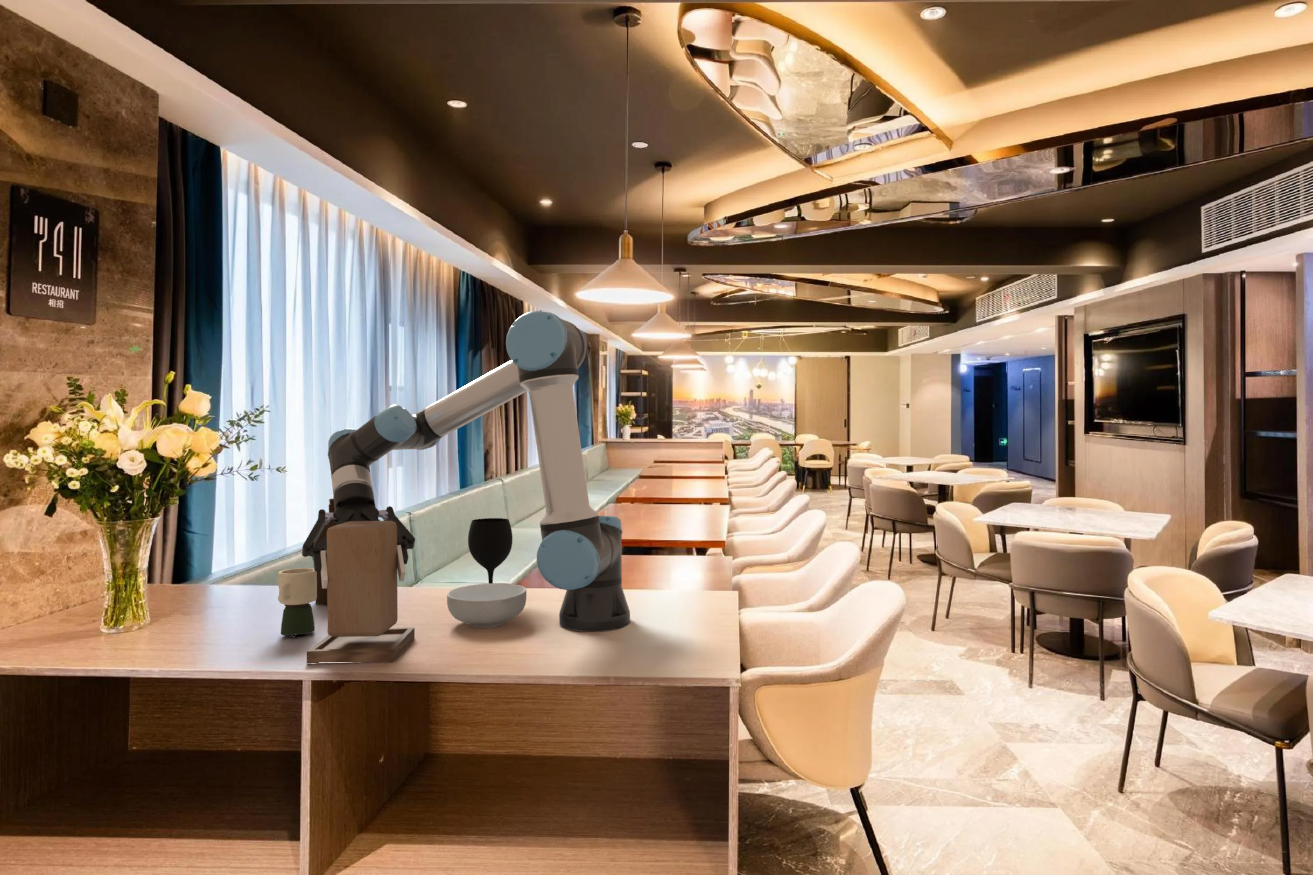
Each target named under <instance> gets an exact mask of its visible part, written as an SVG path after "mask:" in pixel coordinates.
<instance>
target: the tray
mask: <svg viewBox="0 0 1313 875" xmlns="http://www.w3.org/2000/svg"><path fill="white" fill-rule="evenodd" d="M415 634H416V633H415V627H391V628H389V629H388V630H387V631H386V632H384V633H383V634H382V635H380V636H358V637H332V636H329V635H326V636H325V637H324V638H323V639H321V640H320V641H319V642H317V643H316V644H315V645H313V646H312V647H311V648H309V649H308V650H306V664H307V663H319V662H356V663H355V664H358V663H357V662H378V663H395V661H397V659H399V657H400V656H401V654H402V653H403V652H404V651H405V650H406V649H407V648H408V647H409V646H410V645H411V644H412V642H414V641H415Z"/></svg>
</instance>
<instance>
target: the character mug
mask: <svg viewBox="0 0 1313 875" xmlns="http://www.w3.org/2000/svg"><path fill="white" fill-rule="evenodd" d="M277 576H278V577H277V586H278V597H277V600H278V602H279V603H280V604H282V605H284V609H283V611H282V612H283V613H282V617H281V618H282V619H281V627H280V635H281V636H287V635H290V636H292V637H293V636H295V637H296V636H297V635H307V634H312V633H314V632H315V631H316V627H315V626H316V625H315V619H314V618H315V617H314V612H313V607H312V605H311V603H313V602H316V599H317V572H315V570H314V567H299V568H287V569H283V570H280V571H278V573H277Z"/></svg>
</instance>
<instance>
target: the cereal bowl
mask: <svg viewBox="0 0 1313 875" xmlns="http://www.w3.org/2000/svg"><path fill="white" fill-rule="evenodd" d="M526 603H527V588H526V587H525V586H523V585H521V584H515V583H503V582H502V583H500V582H498V583H496V582H493V583H490V584H489V583H478V584H470V585H465V586H460V587H457V588H456V587H455V588H454V589H451V590H449V591H448V592H447V595H446V604H447V608H448V612H449V613H450V615H451V616H452V617H453V618H454V619H455V620H457V621H458V622H461V623H465V624H468V626H470V627H472V628H478V629H479V628H480V629H481V628H482V629H484V628H485V629H487V628H488V629H489V628H497V627H501V626H503V625H505V624H507V623H508V621H510V620H512V619H514V618H516V617H518V615H520V614H521V613H522V612H523V610H524V609H525V606H526Z"/></svg>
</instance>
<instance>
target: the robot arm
mask: <svg viewBox="0 0 1313 875" xmlns="http://www.w3.org/2000/svg"><path fill="white" fill-rule="evenodd" d="M505 346H506V352H507V354H508V356H509V359H510V360H509V361H507V362H505V363H503V364H502V365H501V364H500V366H498V367H495V368H494V369H492V370H490V371H489V372H487V373H485V374H484V375H481V376H480V377H478V378H476V379H474V380H473V381H471V382H468V383H467V384H466V385H464V386H462V387H460V388H458V389H457V390H455V391H453V392H451V393H450V394H448V395H446V396H444V397H442V398H441V399H438V400H437V401H435V402H433V403H431V404H429V405H428V406H426V407H425V408H422V409H421V410H419V411H417V412H416V413H413V414H411V413H410V411H408V409H406V408H405V407H402V406H401V405H399V404H391V405H390V406H388V407H386V408H385V409H383V410H381V411H379V412H378V413H377V414H376V415H375V416H374V417H372V418H371V419H369V420H368V421H367V422H366V423H364V424H363V425H361V426H360V427H359V428H357V429H355V428H343V429H342V430H336V431H335V432H333V433H332V434H331V436H330V437H329V438H328V439H329V440H328V445H327V448H328V449H327V450H328V451H327V458H328V462H329V468H330V477H331V485H332V486H331V487H332V494H333V498H332V499H334V508H335V511H334V513H329V512H326V510H325V509H324V508H323V509H319V510H318V514H317V520H316V522H315V523H314V525H313V527H312V528H311V530H310V532H309V534H308V535H307V537H306V539H305V541H304V543H303V544H302V549H301V556H302V557H303V558H307V557H311V558H312V561H313V562H312V563H313V568H314V570H315V572H317V571H321V580H322V589H324V588H327V583H328V575H327V565H326V554H325V551H326V550H327V534H326V535H325V536H324V538H323V539H322V540H321V541H320V542H319V543H318V544H317V545H316V546H315V547H314V545H315V543H316V541H317V539H318V538H319V536H320V534H321V532H322V530H323V528H324V525H327V523H329V521H330V520H333V521H334V522H335V523H336V525H339V524H342V523H345V522H349V521H381V520H380V519H379V518H381V519H382V521H393V522H395V523H396V525H397V577H398V580H399V582H404V580H405V575H406V567H405V565H407V564H408V560H409V554H408V550H412V549H414V546H415V542H416V538H415V536H414V535H413V534H412V533H411V531H409V529H407V527H406V526H405V524H404V523H403V522H402V521H401V520H400V519H399V518H398V517H397V515H396V514H395V511H394V508H393V507H392V506H387V507H386V509H380V510H379V509H378V508H377V506H376V502H375V495H374V490H373V484H372V482H373V480H372V476H371V469H370V466H371V465H372V464H374V463H375V462H377V461H378V460H380V459H382V457H384V456H385V455H387V454H388V453H390V452H391V451H397V450H398V451H399V450H401V451H402V450H418V451H419V450H420V451H421V450H427V449H430V448H434V447H435V446H437V444H439V443H440V440H441V439H442V438H444V437H445V436H447V435H449V434H450V433H453V432H455V431H456V430H458V429H460V428H462V427H464V426H466V425H468V424H469V423H470V422H473V421H474V420H476V419H478V418H480V417H482V416H484V415H486V414H487V413H490V412H491V411H493V410H495V409H497V408H499V407H500V406H503V405H504V404H507V403H508V402H509V401H511V400H513V399H516V398H517V397H519V396H521V395H523V394H524V393H527V392H528V394H529V401H530V408H531V415H532V416H531V417H532V422H533V423H532V424H533V428H534V429H533V430H534V437H535V442H536V450H537V457H538V464H539V471H540V478H541V487H542V493H543V500H544V506H545V515H544V516H543V517H542V518H541V520H540V522H539V527H540V533H541V534H540V536H541V543H540V544H539V546H538V548H537V552H536V564H537V568H538V571H539V572H540V575H541V577H542V578H543V579H544V580H545V581H546V582H547V583H549V584H550V585H551V586H553V587H554V588H556V589H559V590H564V591H565V594H564V597H563V601H562V604H561V607H560V609H559V614H558V616H559V617H558V618H559V621H558V622H559V623H558V624H559V625H560V627H562V628H564V629H567V630H572V631H578V632H579V631H580V632H605V631H611V630H616V629H621V628H623V627H626V626H628V625H629V624H630V623H631V612H630V610H631V609H630V608H629V605H628V604H629V603H628V602H627V598H626V595H625V592H624V589H623V585H622V584H623V580H622V579H623V578H622V573H623V571H622V569H623V567H622V566H623V562H622V560H623V559H622V558H623V556H622V555H623V554H622V552H623V551H622V541H623V539H622V536H623V529H622V522H621V519H620V518H619V517H618V516H613V515H612V516H611V515H599V513H598V512H597V511H596V510H595V509H593V508H592V507H591V506H590V499H589V491H588V487H587V479H586V478H587V477H586V471H585V465H584V459H583V451H582V444H581V437H580V431H579V423H578V417H577V409H576V404H575V396H574V388H573V387H574V385H575V383H576V382H577V381H578V379H580V378H579V376H580V375H579V368H580V367H581V365H582V363H583V362H584V360H585V357H586V353H587V343H586V338H585V336H584V334H583V333H582V331H581V330H580V328H578V327H577V326H576V325H575V324H574V323H572V322H570V321H568V320H565V319H563V318H560V317H559V316H558V315H556V314H555V313H552V312H548V311H543V310H533V311H532V310H531V311H528V312H526V313H523V314H522V315H520V316H519V317H518V318H516V319H515V320H514V322H513V323H512V324H511V326H510V327H509V329H508V332H507V334H506V340H505ZM336 525H335V526H336Z"/></svg>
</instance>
